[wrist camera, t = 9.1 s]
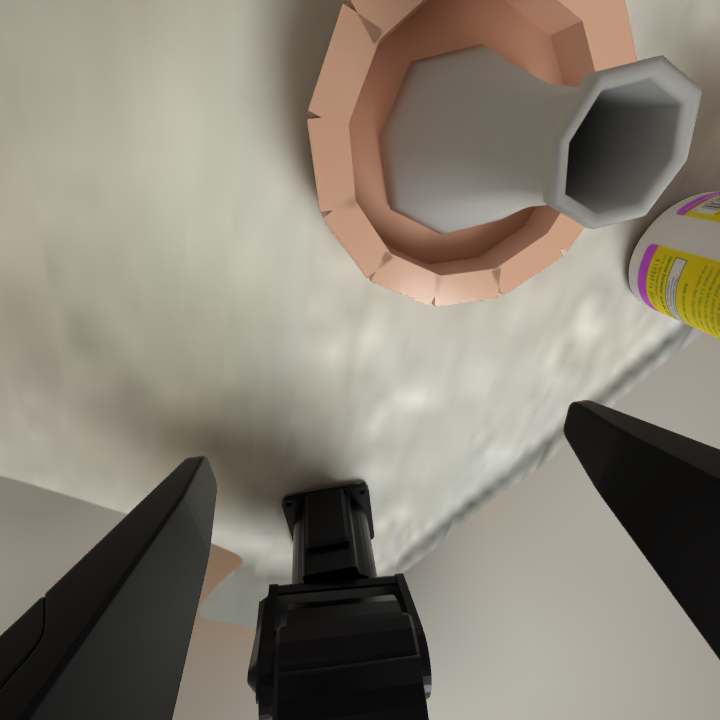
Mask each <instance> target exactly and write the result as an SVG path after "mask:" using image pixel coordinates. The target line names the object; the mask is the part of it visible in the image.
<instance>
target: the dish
mask: <svg viewBox="0 0 720 720" xmlns="http://www.w3.org/2000/svg"><path fill="white" fill-rule="evenodd" d="M480 44H483V45H484V46H486V47H488V48H490V49H491V50H493V51H494V52H496V53H497V54H499V55H500V56H502V57H503V58H504V59H506V60H507V61H509V62H510V63H512V64H513V65H515V66H517V67H519V68H521V69H522V70H524V71H526V72H528V73H530V74H532V75H534V76H535V77H537V78H539V79H541V80H543V81H545V82H547V83H549V84H556V85H564V86H573V87H579V85H580V84H581V82H582V80H583V79H584V77H586V76H587V75H589V74H590V73H592V72H596V71H600V70H604V69H608V68H612V67H616V66H620V65H624V64H628V63H632V62H636V61H637V58H636V53H635V48H634V43H633V38H632V33H631V28H630V23H629V18H628V14H627V9H626V4H625V0H346V3H345V4H342V7H341V10H340V13H339V16H338V19H337V22H336V25H335V29H334V32H333V35H332V38H331V41H330V44H329V47H328V50H327V53H326V56H325V59H324V62H323V66H322V69H321V72H320V75H319V78H318V81H317V84H316V87H315V90H314V93H313V96H312V99H311V103H310V106H309V109H308V115H309V116H311V117H312V119H307V126H308V133H309V140H310V147H311V154H312V163H313V169H314V176H315V183H316V190H317V197H318V204H319V209H320V212H321V213H322V217H323V219H324V221H325V222H326V223H327V225H328V226H329V228H330V229H331V230H332V232H333V233H334V234H335V236H336V237H337V238H338V240H339V241H340V243H341V244H342V245H343V247H344V248H345V249H346V251H347V252H348V254H349V255H350V256H351V258H352V259H353V260H354V262H355V263H356V264H357V266H358V267H359V269H360V270H361V271H362V273H363V274H364V275H365V277H366V278H367V277H369V279H370V281H371V282H373V283H375V284H378V285H380V286H383V287H385V288H387V289H390V290H392V291H395V292H397V293H400V294H402V295H404V296H407V297H409V298H412V299H414V300H417V301H419V302H421V303H424V304H426V305H429V306H430V304H431V303H432V304H433V305H434V306H442V305H449V304H457V303H464V302H471V301H478V300H485V299H492V298H498V293H500V294H502V295H505V294H506V293H508V292H509V291H511V290H513V289H514V288H516V287H517V286H519V285H520V284H522V283H523V282H525V281H526V280H528V279H529V278H531V277H532V276H534V275H535V274H537V273H538V272H540V271H541V270H543V269H544V268H546V267H547V266H549V265H550V264H552V263H553V262H555V261H556V260H558V259H559V258H561V257H562V256H563V255H562V253H561V250H560V249H563V250H565V251H568V250H569V249H570V247H571V246H572V244H573V243H574V241H575V240H576V238H577V237H578V236H579V234H580V233H581V231H582V230H583V228H584V226H582V225H581V224H579V223H577V222H575V221H574V220H572V219H570V218H569V217H567V216H565V215H564V214H562V213H560V212H559V211H557V210H555V209H553V208H552V207H550V206H548V205H542V206H530V207H527V208H524V209H522V210H520V211H518V212H516V213H514V214H511V215H509V216H507V217H505V218H503V219H501V220H498V221H494V222H490V223H486V224H482V225H478V226H474V227H470V228H466V229H462V230H458V231H454V232H450V233H446V234H442V235H441V234H439V233H437V232H435V231H433V230H431V229H429V228H427V227H425V226H423V225H421V224H419V223H417V222H415V221H413V220H411V219H409V218H407V217H405V216H403V215H401V214H398V213H396V212H394V211H392V210H390V205H389V199H388V193H387V186H386V180H385V174H384V167H383V161H382V155H381V148H380V142H379V138H380V135H381V133H382V130H383V128H384V126H385V123H386V121H387V118H388V116H389V114H390V111H391V109H392V106H393V104H394V101H395V99H396V97H397V94H398V92H399V89H400V87H401V84H402V82H403V80H404V77H405V75H406V72H407V70H408V67H409V65H410V63H411V61H415V60H419V59H423V58H427V57H431V56H435V55H439V54H443V53H447V52H451V51H455V50H459V49H463V48H467V47H471V46H476V45H480Z"/></svg>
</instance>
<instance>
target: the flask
mask: <svg viewBox="0 0 720 720" xmlns="http://www.w3.org/2000/svg"><path fill="white" fill-rule="evenodd" d="M702 92H703V90H701V89H700V88H699V87H698V86H697V85H696V84H695V83H693V82H692V81H691V80H690V79H689V78H688V77H687V76H686V75H684V74H683V73H682V72H681V71H680V70H679V69H678V68H676V67H675V66H674V65H673V64H672V63H671V62H670V61H668V60H667V59H666V58H665V57H664V56H658V57H653V58H649V59H645V60H641V61H636V62H632V63H628V64H624V65H620V66H616V67H612V68H608V69H604V70H600V71H596V72H592V73H590V74H589V75H587V76H586V77H584V79H583V80H582V82H581V84H580V85H579V87H573V86H564V85H556V84H549V83H547V82H545V81H543V80H541V79H539V78H537V77H535V76H534V75H532V74H530V73H528V72H526V71H524V70H522V69H521V68H519V67H517V66H515V65H513V64H512V63H510V62H509V61H507V60H506V59H504V58H503V57H502V56H500V55H499V54H497V53H496V52H494V51H493V50H491V49H490V48H488V47H486V46H484V45H483V44H480V45H476V46H471V47H467V48H463V49H459V50H455V51H451V52H447V53H443V54H439V55H435V56H431V57H427V58H423V59H419V60H415V61H411V63H410V65H409V67H408V70H407V72H406V75H405V77H404V80H403V82H402V84H401V87H400V89H399V92H398V94H397V97H396V99H395V101H394V104H393V106H392V109H391V111H390V114H389V116H388V118H387V121H386V123H385V126H384V128H383V130H382V133H381V135H380V138H379V142H380V148H381V155H382V161H383V167H384V174H385V180H386V186H387V193H388V199H389V205H390V210H392V211H394V212H396V213H398V214H401V215H403V216H405V217H407V218H409V219H411V220H413V221H415V222H417V223H419V224H421V225H423V226H425V227H427V228H429V229H431V230H433V231H435V232H437V233H439V234H441V235H442V234H446V233H450V232H454V231H458V230H462V229H466V228H470V227H474V226H478V225H482V224H486V223H490V222H494V221H498V220H501V219H503V218H505V217H507V216H509V215H511V214H514V213H516V212H518V211H520V210H522V209H524V208H527V207H530V206H542V205H548V206H550V207H552V208H553V209H555V210H557V211H559V212H560V213H562V214H564V215H565V216H567V217H569V218H570V219H572V220H574V221H575V222H577V223H579V224H581V225H582V226H584V227H586V228H590V229H595V228H599V227H603V226H607V225H611V224H615V223H619V222H623V221H627V220H631V219H635V218H639V217H643V216H645V215H646V214H647V213H648V211H649V210H650V209H651V207H652V206H653V205H654V203H655V202H656V201H657V199H658V198H659V197H660V195H661V194H662V193H663V191H664V190H665V189H666V187H667V186H668V185H669V183H670V182H671V181H672V179H673V178H674V177H675V175H676V174H677V173H678V172H679V170H680V169H681V168H682V166H683V165H684V164H685V162H686V161H687V158H688V154H689V149H690V145H691V141H692V136H693V132H694V127H695V123H696V119H697V114H698V110H699V105H700V101H701V97H702Z"/></svg>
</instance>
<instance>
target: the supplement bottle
mask: <svg viewBox="0 0 720 720" xmlns="http://www.w3.org/2000/svg"><path fill="white" fill-rule="evenodd" d="M628 274H629V284H630V287H631V290H632V292H633V294H634V295H635V297H636V298H637V299H638V300H639V301H640V302H642V303H643V304H645V305H646V306H648V307H650V308H652V309H654V310H657V311H659V312H661V313H663V314H666V315H668V316H670V317H672V318H674V319H677V320H679V321H681V322H683V323H685V324H688V325H690V326H692V327H694V328H697V329H699V330H701V331H703V332H706V333H708V334H710V335H712V336H715V337H717V338H719V339H720V192H718V191H716V192H705V193H700V194H697V195H693V196H691V197H688V198H686V199H684V200H682V201H680V202H678V203H676V204H675V205H673V206H671V207H670V208H669V209H667V210H666V211H665V212H664V213H662V214H661V215H660V216H659V217H658V218H657V219H656V220H655V221H654V222H653V223H652V224H651V225H650V226H649V228H648V229H647V230H646V231H645V233H644V234H643V236H642V237H641V239H640V240H639V242H638V243H637V245H636V247H635V249H634V252H633V254H632V257H631V260H630V265H629V272H628Z"/></svg>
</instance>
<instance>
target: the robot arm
mask: <svg viewBox="0 0 720 720" xmlns="http://www.w3.org/2000/svg"><path fill="white" fill-rule="evenodd" d="M564 434H565V437H566V439H567V440H568V442H569V444H570V446H571V447H572V449H573V450H574V452H575V454H576V456H577V457H578V459H579V461H580V463H581V464H582V466H583V468H584V469H585V471H586V473H587V475H588V476H589V478H590V479H591V481H592V483H593V485H594V486H595V488H596V489H597V491H598V492H599V494H600V495H601V497H602V498H603V499H604V501H605V502H606V504H607V505H608V506H609V508H610V509H611V510H612V512H613V513H614V515H615V516H616V517H617V519H618V520H619V522H620V523H621V524H622V526H623V527H624V528H625V530H626V531H627V533H628V534H629V535H630V537H631V538H632V540H633V541H634V542H635V544H636V545H637V546H638V548H639V549H640V551H641V552H642V553H643V555H644V556H645V557H646V559H647V560H648V562H649V563H650V564H651V566H652V567H653V568H654V570H655V571H656V573H657V574H658V575H659V577H660V578H661V579H662V581H663V582H664V584H665V585H666V586H667V588H668V589H669V590H670V592H671V593H672V595H673V596H674V597H675V599H676V600H677V602H678V603H679V604H680V606H681V607H682V608H683V610H684V611H685V613H686V614H687V615H688V617H689V618H690V619H691V621H692V622H693V624H694V625H695V626H696V628H697V629H698V631H699V632H700V633H701V635H702V636H703V638H704V639H705V640H706V642H707V643H708V644H709V646H710V647H711V649H712V650H713V651H714V653H715V654H716V655H717V657H718V658H719V660H720V450H719V449H717V448H714V447H711V446H709V445H706V444H703V443H701V442H698V441H695V440H693V439H690V438H687V437H685V436H682V435H680V434H677V433H674V432H672V431H669V430H666V429H664V428H661V427H658V426H656V425H653V424H651V423H648V422H645V421H643V420H640V419H637V418H635V417H632V416H630V415H627V414H624V413H621V412H619V411H616V410H613V409H611V408H608V407H606V406H603V405H600V404H598V403H595V402H593V401H590V400H583V401H576V402H573V403H571V404H570V406H569V408H568V412H567V416H566V420H565V424H564ZM216 492H217V484H216V479H215V477H214V474H213V471H212V468H211V466H210V463H209V460H208V459H207V457H206V456H196V457H190V458H187V459H185V460H184V461H183V462H182V463H181V464H180V465H179V466H178V467H177V468H176V469H175V470H174V471H173V472H172V473H171V474H170V475H169V476H167V477H166V478H165V479H164V480H163V481H162V482H161V483H160V484H159V485H158V486H157V487H156V488H155V489H154V490H153V491H152V492H151V493H150V494H149V495H148V496H147V497H146V498H145V499H143V500H142V501H141V502H140V503H139V504H138V505H137V506H136V507H135V508H134V509H133V510H132V511H131V512H130V513H129V514H128V515H127V516H126V517H125V518H124V519H123V520H122V521H120V522H119V524H118V525H116V526H115V527H114V528H113V529H112V530H111V531H110V532H109V533H108V534H107V535H106V536H105V537H104V538H103V539H102V540H101V541H100V542H99V543H98V544H96V545H95V547H94V548H92V549H91V550H90V551H89V552H88V553H87V554H86V555H85V556H84V557H83V558H82V559H81V560H80V561H79V562H78V563H77V564H76V565H75V566H74V567H72V569H70V570H69V571H68V572H67V573H66V574H65V575H64V576H63V577H62V578H61V579H60V580H59V581H58V582H57V583H56V584H55V585H54V586H53V587H52V588H51V589H49V591H47V592H46V594H45V597H42V598H40V599H39V600H38V601H37V602H36V603H35V604H34V605H33V606H32V607H31V608H30V609H28V610H27V611H26V612H25V613H24V614H23V615H22V616H21V617H20V618H19V619H18V620H17V621H16V622H15V623H14V624H13V625H11V626H10V627H9V628H8V629H7V630H6V631H5V632H4V633H3V634H2V635H1V636H0V720H172V717H173V713H174V708H175V704H176V700H177V695H178V691H179V686H180V681H181V678H182V673H183V668H184V664H185V660H186V655H187V651H188V647H189V642H190V638H191V634H192V629H193V625H194V620H195V616H196V612H197V607H198V603H199V598H200V594H201V590H202V585H203V581H204V576H205V572H206V568H207V563H208V557H209V551H210V545H211V537H212V528H213V519H214V510H215V501H216ZM282 507H283V510H284V513H285V517H286V520H287V523H288V526H289V530H290V533H291V536H292V539H293V569H292V584H288V585H278V584H270V585H269V593H268V596H267V597H266V598H265V599H263V600H262V601H260V602H259V610H258V620H257V628H256V635H255V640H254V645H253V650H252V655H251V660H250V664H249V670H248V681H247V682H248V685H249V686H250V687H251V688H252V690H253V691H254V692H255V693H256V704H259V720H429V718H428V711H427V703H426V699H428V698H429V697H430V693H431V685H432V684H431V665H430V658H429V652H428V646H427V642H426V638H425V634H424V631H423V628H422V625H421V622H420V619H419V617H418V614H417V611H416V608H415V605H414V602H413V600H412V597H411V594H410V591H409V589H408V586H407V583H406V580H405V578H404V575H403V573H399V574H395V575H394V576H382V577H377V574H376V568H375V562H374V556H373V550H372V544H371V539H373V538H374V530H373V522H372V513H371V505H370V496H369V489H368V486H367V485H366V484H364V483H361V484H355V485H349V486H343V487H337V488H331V489H326V490H320V491H314V492H308V493H302V494H296V495H290V496H286V497H284V498H283V500H282Z"/></svg>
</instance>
